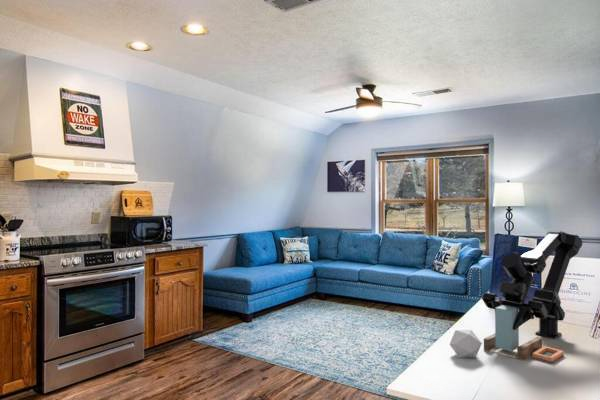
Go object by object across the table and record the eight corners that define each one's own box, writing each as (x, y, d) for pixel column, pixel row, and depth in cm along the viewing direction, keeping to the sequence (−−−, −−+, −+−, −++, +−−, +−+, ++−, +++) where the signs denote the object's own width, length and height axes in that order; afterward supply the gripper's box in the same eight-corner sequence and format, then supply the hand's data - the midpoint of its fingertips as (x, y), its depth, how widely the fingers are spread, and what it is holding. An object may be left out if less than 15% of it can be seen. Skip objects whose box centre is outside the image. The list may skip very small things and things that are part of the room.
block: (502, 343, 138) (502, 305, 138) (518, 347, 134) (518, 308, 134) (495, 346, 135) (495, 307, 135) (511, 351, 131) (511, 310, 131)
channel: (504, 339, 146) (504, 329, 146) (542, 348, 137) (542, 337, 137) (483, 349, 137) (483, 338, 137) (522, 360, 128) (522, 348, 128)
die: (477, 365, 126) (489, 336, 129) (450, 350, 127) (463, 321, 130) (467, 365, 134) (478, 337, 137) (442, 350, 135) (454, 323, 138)
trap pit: (544, 350, 135) (544, 346, 135) (563, 355, 131) (563, 350, 131) (532, 358, 130) (532, 353, 130) (552, 363, 125) (552, 358, 125)
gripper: (484, 268, 144) (467, 306, 137) (543, 276, 130) (528, 319, 123) (495, 288, 149) (479, 325, 142) (553, 297, 135) (539, 340, 128)
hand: (504, 327), depth 134 cm, fingers closed on block, 5 cm apart
